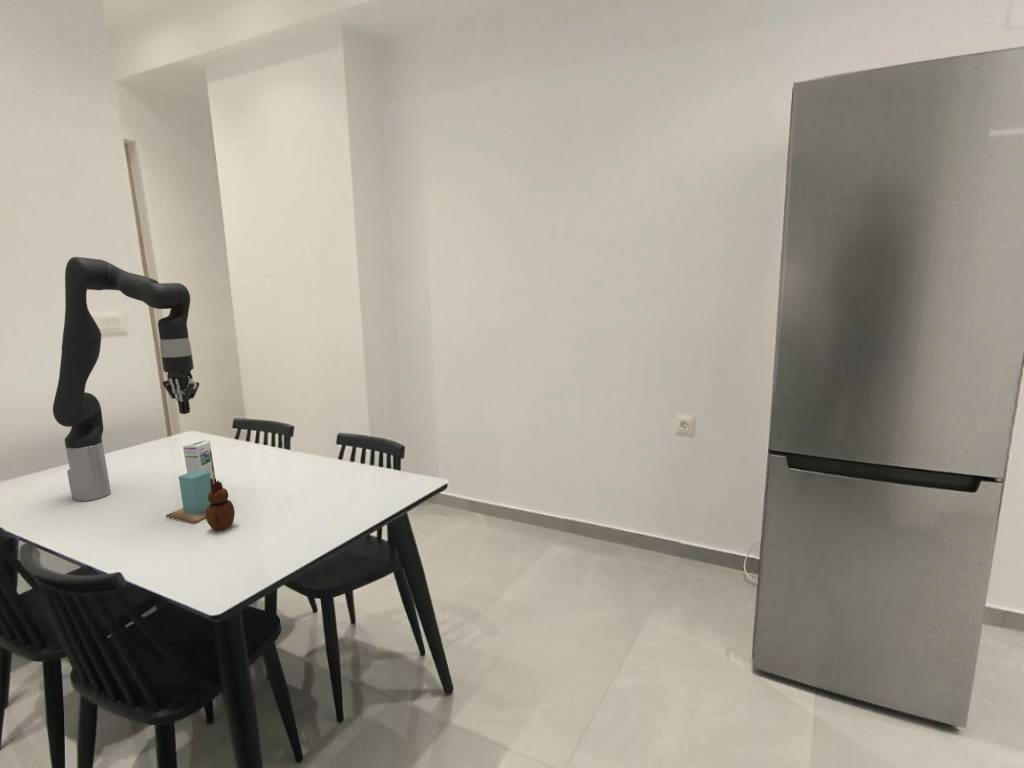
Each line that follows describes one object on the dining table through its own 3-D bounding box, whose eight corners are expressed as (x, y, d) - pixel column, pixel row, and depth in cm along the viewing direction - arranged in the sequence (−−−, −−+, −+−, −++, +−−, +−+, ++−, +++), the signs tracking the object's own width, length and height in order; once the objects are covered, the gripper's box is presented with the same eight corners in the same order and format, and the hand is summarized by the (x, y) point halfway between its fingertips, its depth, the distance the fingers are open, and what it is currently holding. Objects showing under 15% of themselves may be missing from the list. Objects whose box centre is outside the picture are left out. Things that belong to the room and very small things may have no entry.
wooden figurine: (216, 535, 149) (209, 482, 146) (204, 530, 152) (197, 478, 149) (240, 525, 154) (233, 474, 152) (228, 521, 157) (221, 470, 155)
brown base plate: (194, 524, 156) (191, 497, 155) (166, 517, 161) (162, 492, 159) (231, 507, 167) (228, 482, 165) (203, 501, 172) (200, 477, 170)
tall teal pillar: (197, 515, 160) (191, 478, 158) (183, 512, 162) (178, 476, 160) (214, 507, 165) (209, 472, 163) (201, 505, 167) (196, 470, 165)
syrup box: (203, 488, 183) (198, 445, 180) (188, 487, 184) (182, 445, 181) (216, 482, 188) (210, 440, 186) (201, 481, 190) (195, 440, 187)
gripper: (204, 353, 160) (212, 412, 163) (173, 351, 165) (181, 408, 168) (180, 357, 153) (188, 418, 156) (148, 355, 158) (157, 414, 162)
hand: (184, 413), depth 162 cm, fingers closed
